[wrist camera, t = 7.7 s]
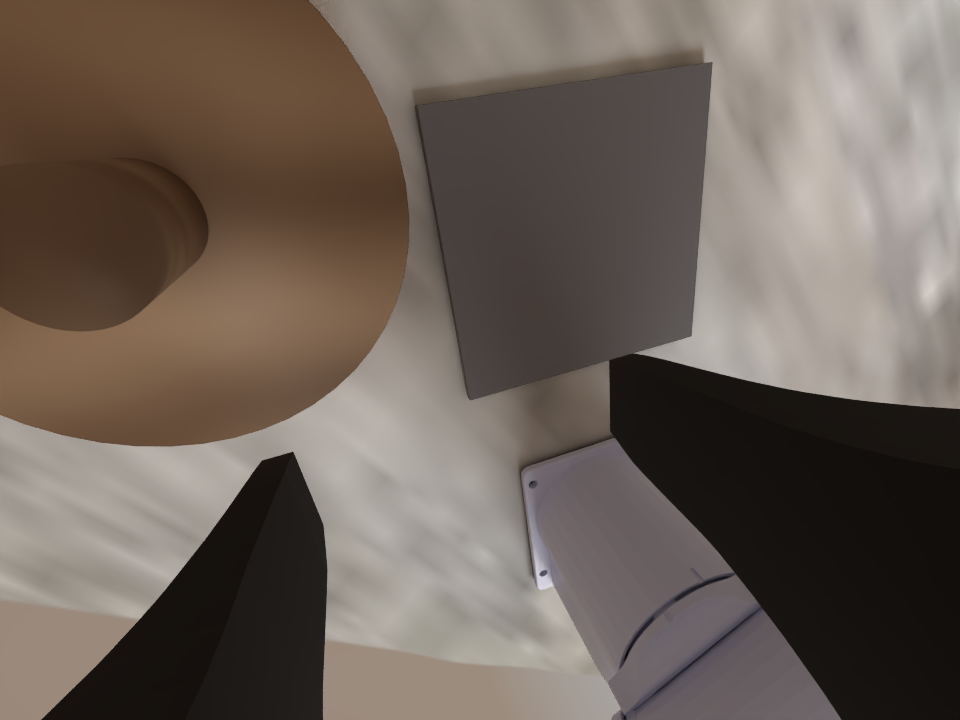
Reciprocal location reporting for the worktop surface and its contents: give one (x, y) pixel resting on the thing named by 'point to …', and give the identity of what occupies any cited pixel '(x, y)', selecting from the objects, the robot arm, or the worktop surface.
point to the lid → (187, 216)
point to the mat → (568, 220)
